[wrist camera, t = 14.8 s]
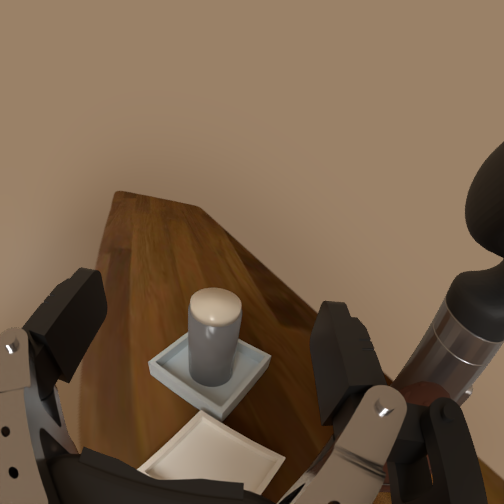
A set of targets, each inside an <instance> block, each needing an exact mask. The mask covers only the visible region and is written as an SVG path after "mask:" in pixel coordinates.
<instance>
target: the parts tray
mask: <svg viewBox="0 0 504 504" xmlns="http://www.w3.org/2000/svg"><path fill="white" fill-rule="evenodd" d="M285 458H286V457H284V456H281V455H279V454H277V453H275V452H273V451H271V450H269V449H267V448H265V447H263V446H261V445H260V444H258V443H256V442H254V441H252V440H250V439H248V438H247V437H245V436H243V435H241V434H240V433H238V432H236V431H234V430H233V429H231V428H229V427H228V426H226V425H224V424H223V423H221V422H219V421H218V420H216V419H215V418H213V417H211V416H210V415H208V414H207V413H205V412H204V411H202V410H200V411H199V412H198V413H197V414H196V415H195V416H194V417H193V418H192V419H191V420H190V421H189V422H188V423H187V424H186V425H185V426H184V427H183V428H182V429H181V430H180V431H179V432H178V433H177V434H176V435H175V436H174V437H173V438H171V439H170V440H169V441H168V442H167V443H166V444H165V445H164V446H163V447H162V448H161V449H160V450H159V451H157V452H156V453H155V454H154V455H153V456H152V457H151V458H150V459H149V460H147V461H146V462H145V463H144V464H143V465H142V466H141V467H139V468H138V469H137V470H138V471H140V472H142V473H144V474H146V475H148V476H150V477H152V478H154V479H158V480H180V479H200V478H202V479H209V480H217V481H227V482H239V483H244V490H247V491H251V492H254V493H256V494H259V495H261V494H262V492H263V491H264V489H265V488H266V487H267V485H268V484H269V482H270V481H271V479H272V478H273V477H274V475H275V474H276V472H277V471H278V469H279V468H280V466H281V465H282V463H283V461H284V460H285Z"/></svg>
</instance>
